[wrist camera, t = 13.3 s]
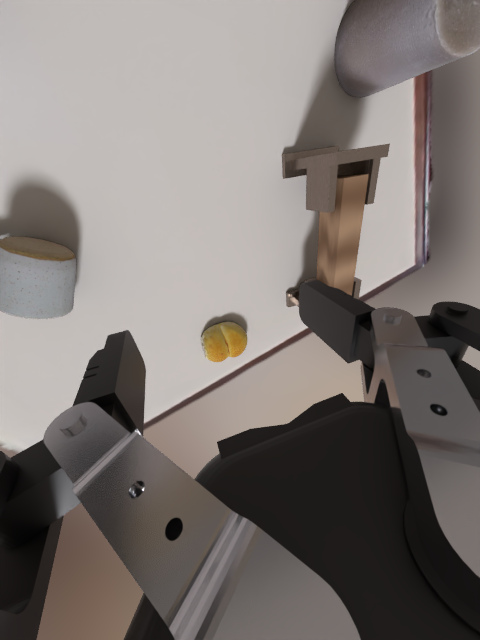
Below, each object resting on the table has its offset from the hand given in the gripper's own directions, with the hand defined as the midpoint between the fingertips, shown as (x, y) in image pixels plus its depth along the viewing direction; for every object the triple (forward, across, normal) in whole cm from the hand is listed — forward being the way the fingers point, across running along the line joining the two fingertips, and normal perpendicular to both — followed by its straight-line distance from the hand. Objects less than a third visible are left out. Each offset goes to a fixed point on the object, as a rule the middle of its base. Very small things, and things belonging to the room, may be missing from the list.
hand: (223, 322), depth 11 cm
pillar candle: (+28, -30, -17) cm, 45 cm away
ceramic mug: (+28, +19, +1) cm, 34 cm away
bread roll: (+29, -3, +22) cm, 36 cm away
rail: (+22, -22, +6) cm, 32 cm away
